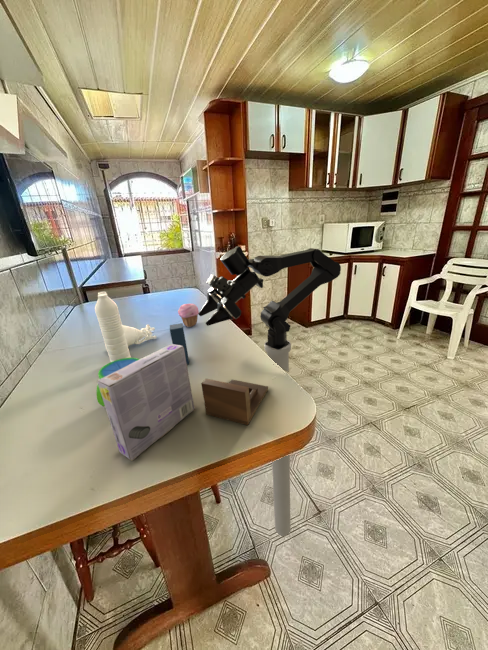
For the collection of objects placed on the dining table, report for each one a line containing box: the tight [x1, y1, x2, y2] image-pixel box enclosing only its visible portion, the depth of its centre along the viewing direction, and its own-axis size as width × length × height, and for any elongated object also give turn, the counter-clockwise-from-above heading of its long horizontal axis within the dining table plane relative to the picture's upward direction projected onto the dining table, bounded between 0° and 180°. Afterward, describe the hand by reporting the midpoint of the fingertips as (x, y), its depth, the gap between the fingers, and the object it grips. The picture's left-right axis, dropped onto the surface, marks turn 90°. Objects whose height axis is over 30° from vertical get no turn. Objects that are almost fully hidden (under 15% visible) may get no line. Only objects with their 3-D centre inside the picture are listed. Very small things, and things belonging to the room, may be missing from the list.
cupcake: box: [177, 303, 200, 328], centre depth 117 cm, size 9×9×10 cm
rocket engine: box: [104, 324, 157, 351], centre depth 103 cm, size 12×12×18 cm
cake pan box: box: [96, 343, 196, 462], centre depth 58 cm, size 19×5×18 cm, turn 145°
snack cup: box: [95, 357, 141, 408], centre depth 70 cm, size 16×10×10 cm
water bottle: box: [94, 290, 132, 363], centre depth 86 cm, size 9×6×25 cm
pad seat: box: [200, 378, 269, 426], centre depth 66 cm, size 14×11×9 cm
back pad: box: [169, 322, 190, 365], centre depth 86 cm, size 4×4×13 cm
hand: (202, 319), depth 82 cm, fingers open, 9 cm apart
